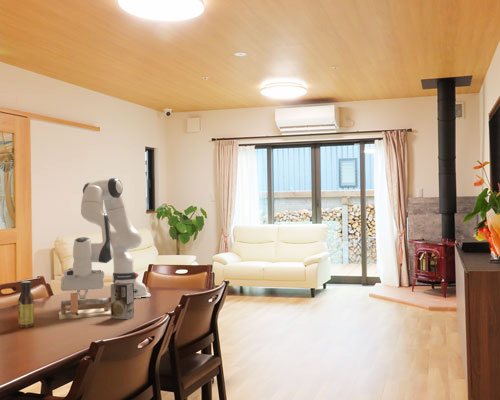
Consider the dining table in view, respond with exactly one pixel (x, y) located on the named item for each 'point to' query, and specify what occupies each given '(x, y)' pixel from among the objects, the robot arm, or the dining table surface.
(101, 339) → the dining table surface
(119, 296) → the coffee box
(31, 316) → the sauce bottle
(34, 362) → the dining table surface
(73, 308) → the bridge block
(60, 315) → the pipe stand
